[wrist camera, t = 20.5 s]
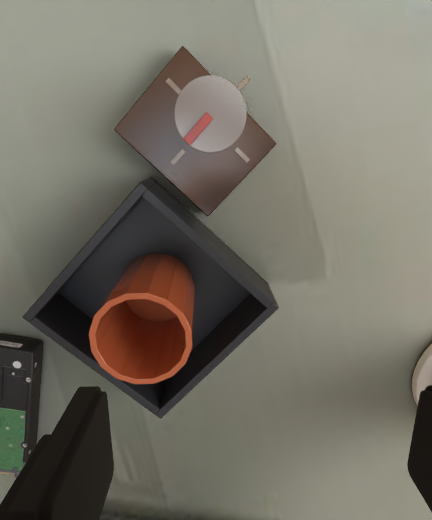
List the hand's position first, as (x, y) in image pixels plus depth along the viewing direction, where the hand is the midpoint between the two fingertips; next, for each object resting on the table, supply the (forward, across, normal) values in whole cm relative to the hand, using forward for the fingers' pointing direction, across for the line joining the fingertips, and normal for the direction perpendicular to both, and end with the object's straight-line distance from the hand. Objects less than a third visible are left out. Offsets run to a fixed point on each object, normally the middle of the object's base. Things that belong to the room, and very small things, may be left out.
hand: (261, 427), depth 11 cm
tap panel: (+23, +3, -9) cm, 25 cm away
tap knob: (+21, +2, -10) cm, 24 cm away
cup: (+23, +7, +4) cm, 24 cm away
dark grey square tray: (+24, +6, +4) cm, 25 cm away
